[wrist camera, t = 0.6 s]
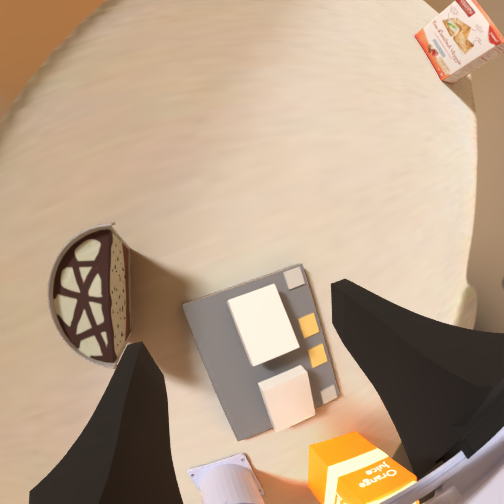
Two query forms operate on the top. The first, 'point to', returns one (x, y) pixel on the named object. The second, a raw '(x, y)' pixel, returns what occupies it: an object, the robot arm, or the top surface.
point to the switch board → (247, 376)
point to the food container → (93, 295)
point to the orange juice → (354, 472)
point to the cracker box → (460, 40)
